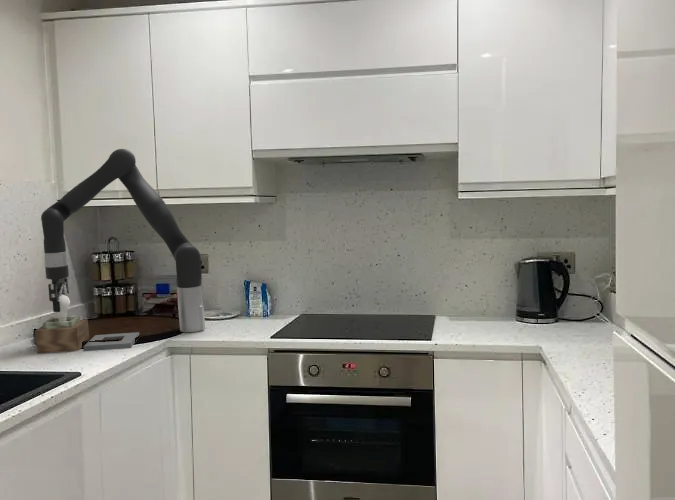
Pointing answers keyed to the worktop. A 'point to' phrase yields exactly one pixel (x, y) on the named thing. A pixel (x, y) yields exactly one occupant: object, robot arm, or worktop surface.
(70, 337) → the raised socket
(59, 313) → the lightbulb
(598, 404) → the worktop surface
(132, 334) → the frame
